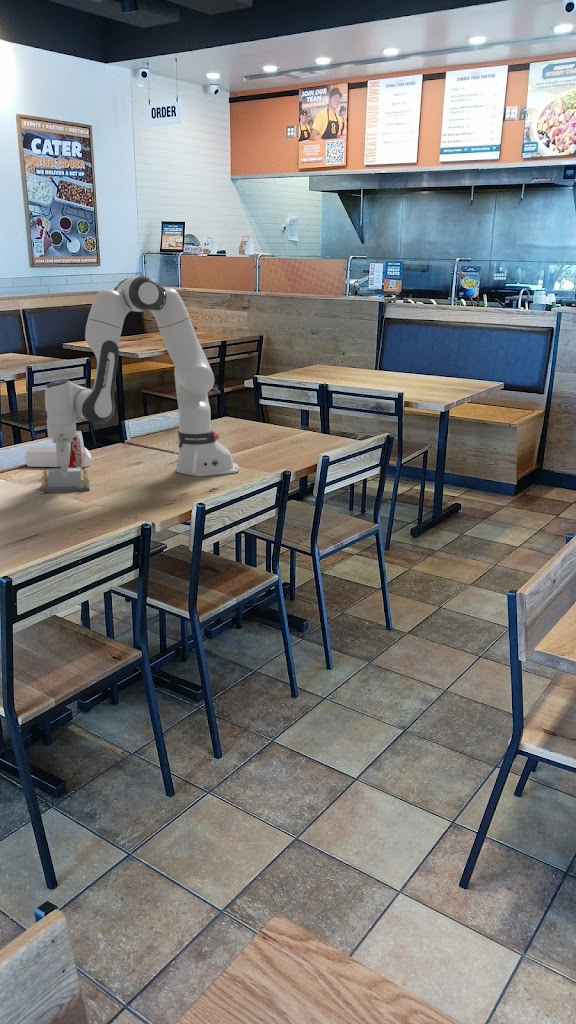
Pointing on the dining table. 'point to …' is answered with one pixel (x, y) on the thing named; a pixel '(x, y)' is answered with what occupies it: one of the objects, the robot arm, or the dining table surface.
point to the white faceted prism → (51, 457)
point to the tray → (46, 487)
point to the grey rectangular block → (65, 478)
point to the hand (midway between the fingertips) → (65, 472)
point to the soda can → (75, 454)
